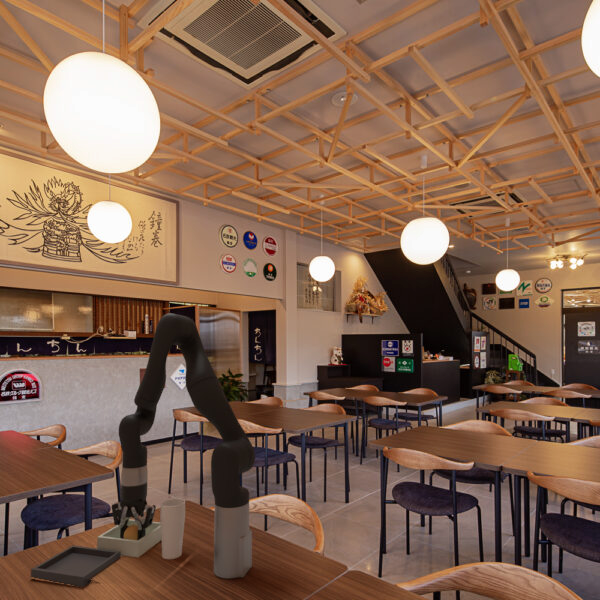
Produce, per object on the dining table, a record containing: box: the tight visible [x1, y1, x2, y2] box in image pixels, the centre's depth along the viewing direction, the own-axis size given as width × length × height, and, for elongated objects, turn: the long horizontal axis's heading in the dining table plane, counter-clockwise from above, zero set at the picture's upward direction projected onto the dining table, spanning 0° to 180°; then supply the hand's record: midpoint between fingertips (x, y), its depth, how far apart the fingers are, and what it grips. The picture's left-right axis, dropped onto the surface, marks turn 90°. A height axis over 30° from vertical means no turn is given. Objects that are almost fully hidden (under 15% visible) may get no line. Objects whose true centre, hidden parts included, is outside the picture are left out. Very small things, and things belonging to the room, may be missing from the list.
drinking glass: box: [159, 498, 186, 560], centre depth 123 cm, size 7×7×15 cm
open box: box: [96, 518, 162, 558], centre depth 129 cm, size 14×14×5 cm
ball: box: [124, 525, 139, 540], centre depth 129 cm, size 5×5×5 cm
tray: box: [30, 545, 122, 589], centre depth 116 cm, size 16×14×2 cm
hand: (132, 540), depth 129 cm, fingers closed on ball, 5 cm apart
